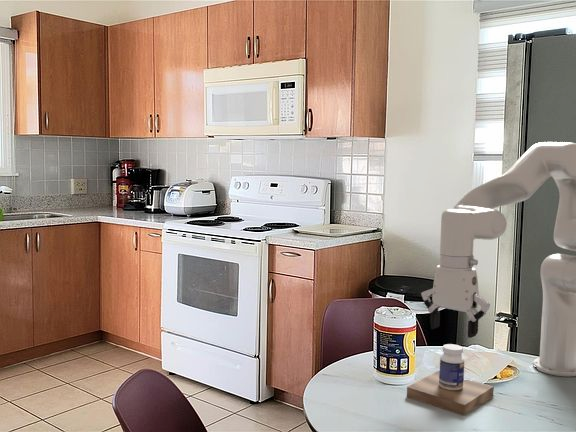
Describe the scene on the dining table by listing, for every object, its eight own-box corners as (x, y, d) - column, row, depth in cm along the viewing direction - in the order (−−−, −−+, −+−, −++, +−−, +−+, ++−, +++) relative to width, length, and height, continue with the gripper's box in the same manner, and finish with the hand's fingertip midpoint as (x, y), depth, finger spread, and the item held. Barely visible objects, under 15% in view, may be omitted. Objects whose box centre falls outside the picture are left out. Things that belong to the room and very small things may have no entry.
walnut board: (437, 380, 163) (438, 370, 163) (493, 396, 153) (493, 386, 153) (406, 396, 152) (407, 386, 152) (464, 415, 142) (464, 404, 142)
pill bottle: (464, 392, 149) (466, 351, 148) (439, 390, 150) (441, 349, 149) (462, 383, 154) (464, 343, 153) (438, 381, 155) (440, 342, 154)
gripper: (498, 264, 145) (494, 336, 147) (431, 255, 157) (429, 321, 159) (483, 269, 140) (480, 343, 142) (415, 259, 152) (413, 328, 154)
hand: (453, 332), depth 151 cm, fingers open, 9 cm apart
